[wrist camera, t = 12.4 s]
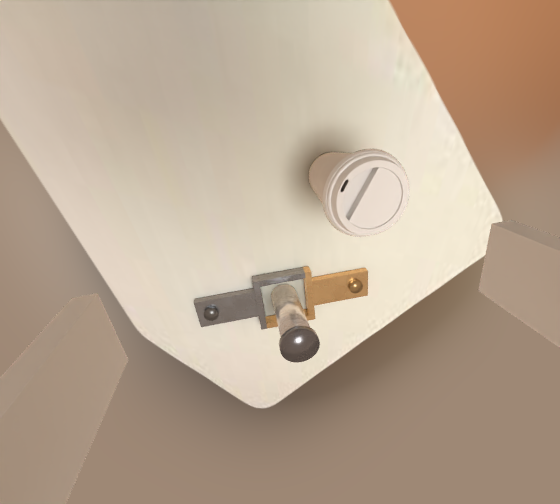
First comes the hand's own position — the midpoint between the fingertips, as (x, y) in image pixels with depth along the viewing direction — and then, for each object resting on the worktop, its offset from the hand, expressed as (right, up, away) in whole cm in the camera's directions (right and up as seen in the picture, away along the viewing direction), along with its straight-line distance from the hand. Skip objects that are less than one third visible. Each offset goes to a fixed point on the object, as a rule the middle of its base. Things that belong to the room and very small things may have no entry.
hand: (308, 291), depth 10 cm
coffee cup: (+6, +13, +34) cm, 37 cm away
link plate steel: (-6, -7, +41) cm, 42 cm away
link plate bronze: (+5, -5, +42) cm, 42 cm away
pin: (0, -6, +41) cm, 42 cm away
